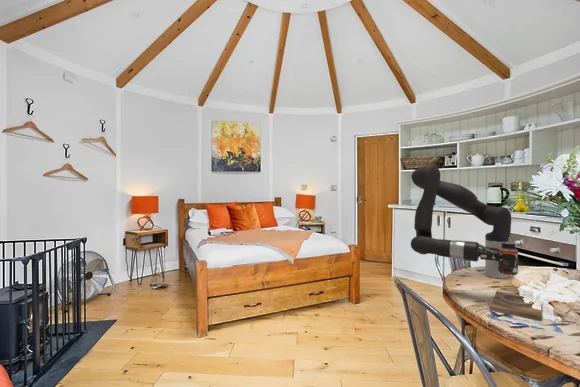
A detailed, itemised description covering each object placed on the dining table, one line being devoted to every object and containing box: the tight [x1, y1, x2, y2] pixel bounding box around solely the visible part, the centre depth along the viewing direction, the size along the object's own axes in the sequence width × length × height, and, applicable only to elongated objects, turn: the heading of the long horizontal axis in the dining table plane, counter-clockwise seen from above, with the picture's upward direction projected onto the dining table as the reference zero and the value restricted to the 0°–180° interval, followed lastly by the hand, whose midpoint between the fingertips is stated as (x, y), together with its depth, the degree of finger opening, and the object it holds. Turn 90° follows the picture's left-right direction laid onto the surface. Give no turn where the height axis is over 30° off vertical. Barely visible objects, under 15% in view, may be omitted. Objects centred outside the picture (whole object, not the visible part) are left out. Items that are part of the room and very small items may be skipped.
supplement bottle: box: [498, 241, 519, 276], centre depth 114 cm, size 6×6×11 cm
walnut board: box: [489, 290, 543, 322], centre depth 112 cm, size 20×14×3 cm
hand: (516, 256), depth 113 cm, fingers closed on supplement bottle, 6 cm apart
